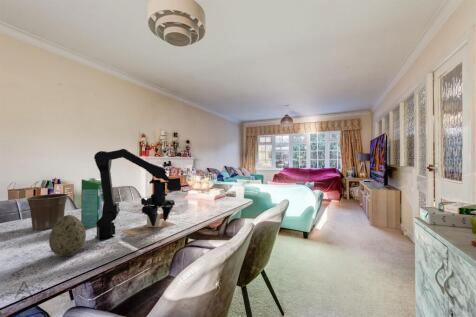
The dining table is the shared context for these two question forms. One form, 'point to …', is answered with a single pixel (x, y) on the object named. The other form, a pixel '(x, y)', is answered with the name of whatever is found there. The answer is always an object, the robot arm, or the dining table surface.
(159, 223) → the white rectangular block
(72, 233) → the decorative egg
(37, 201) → the plant pot
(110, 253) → the dining table surface
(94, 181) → the milk carton
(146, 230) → the walnut stand
